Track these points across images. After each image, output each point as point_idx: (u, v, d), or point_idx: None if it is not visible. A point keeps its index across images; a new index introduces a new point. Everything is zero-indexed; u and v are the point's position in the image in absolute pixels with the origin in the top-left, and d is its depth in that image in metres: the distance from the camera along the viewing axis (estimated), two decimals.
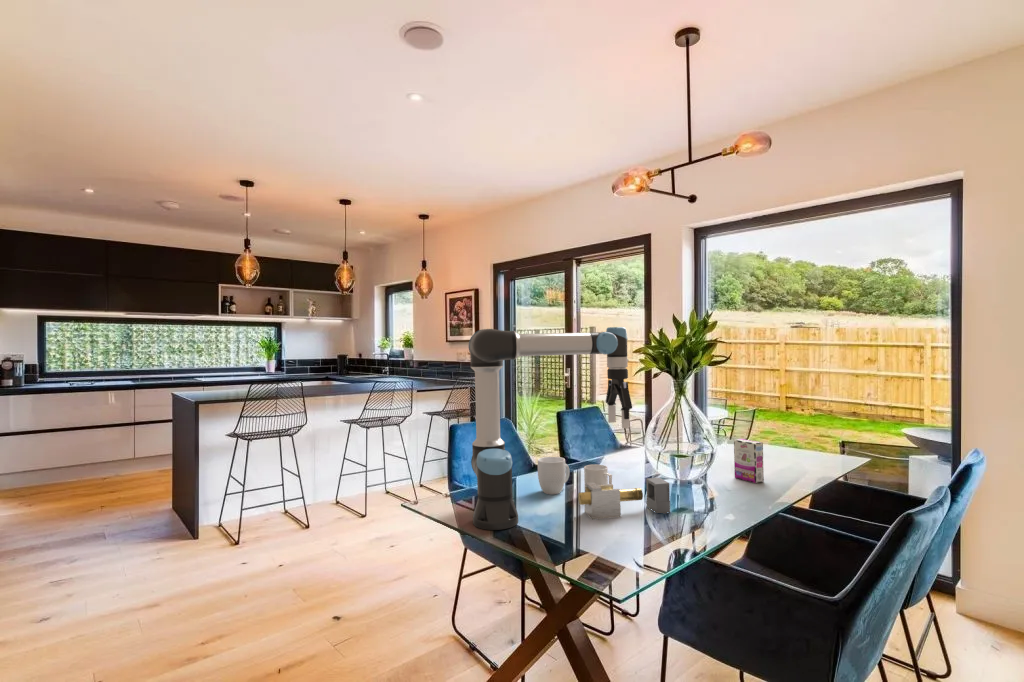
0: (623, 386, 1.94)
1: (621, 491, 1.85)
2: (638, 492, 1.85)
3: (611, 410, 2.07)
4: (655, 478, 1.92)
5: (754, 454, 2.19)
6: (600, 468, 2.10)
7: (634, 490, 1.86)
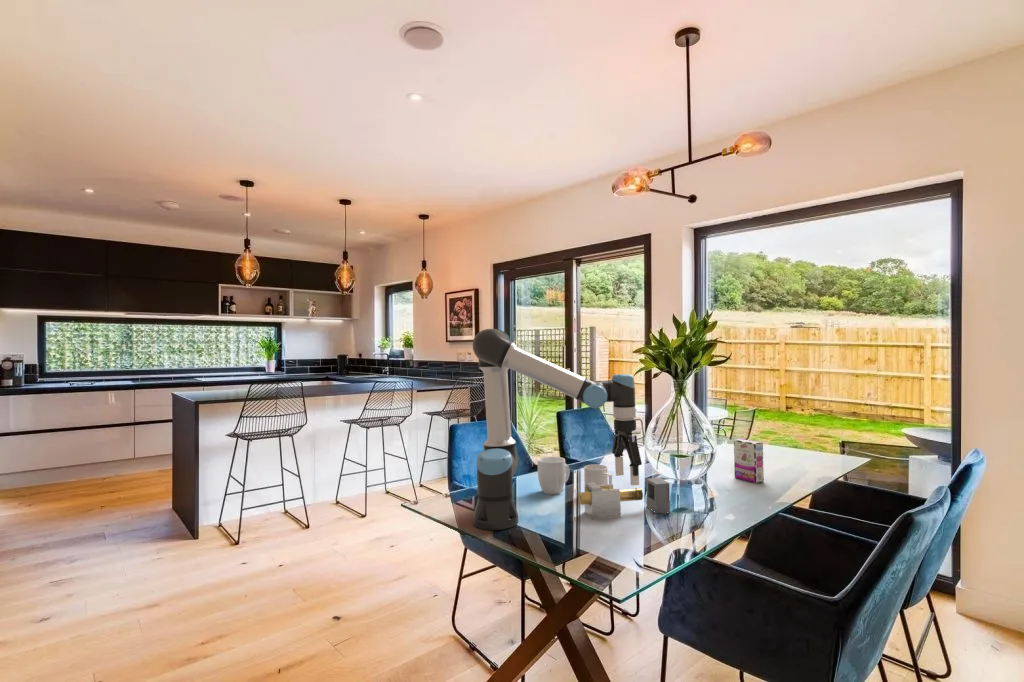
0: (631, 440, 1.79)
1: (621, 491, 1.85)
2: (638, 492, 1.85)
3: (618, 462, 1.92)
4: (655, 478, 1.92)
5: (754, 454, 2.19)
6: (600, 468, 2.10)
7: (634, 490, 1.86)
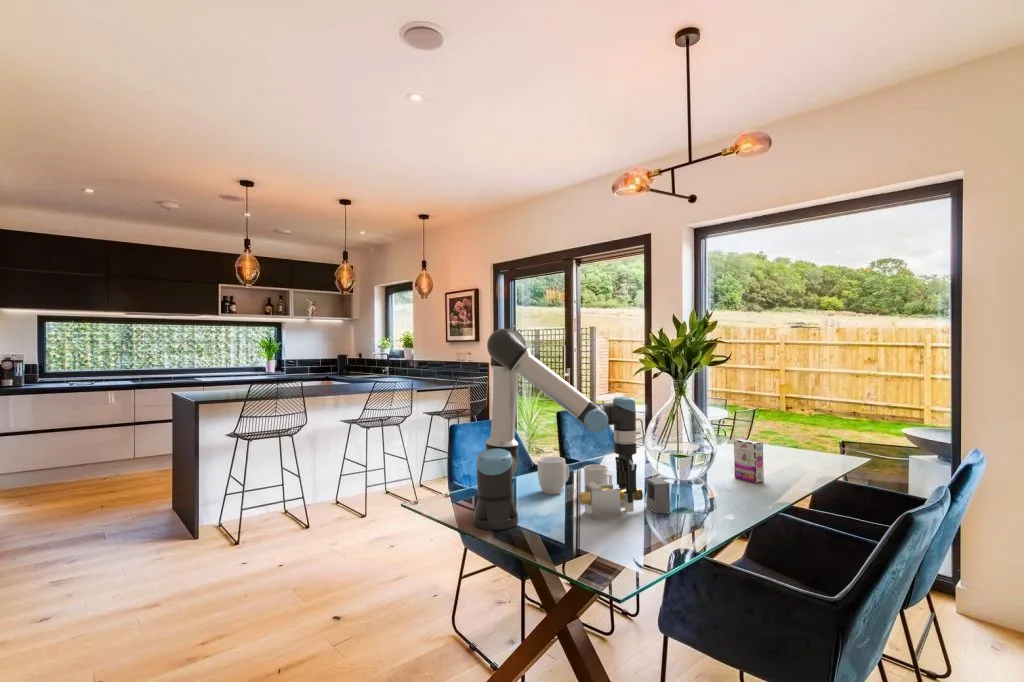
0: (631, 469, 1.80)
1: (621, 491, 1.85)
2: (638, 492, 1.85)
3: None
4: (655, 478, 1.92)
5: (754, 454, 2.19)
6: (600, 468, 2.10)
7: None
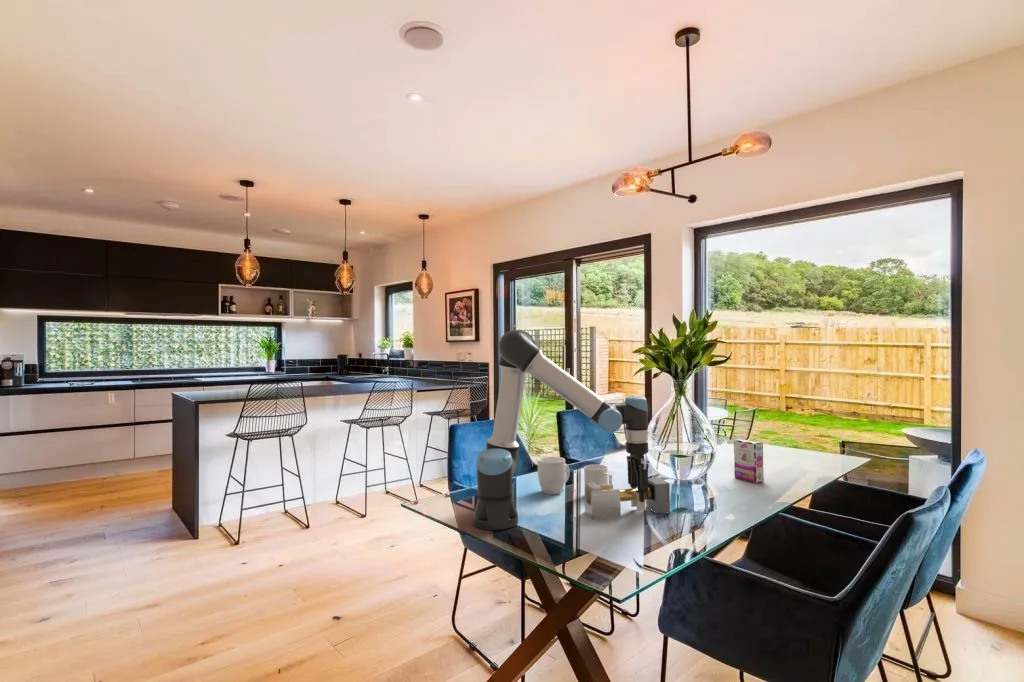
0: (643, 468, 1.81)
1: (633, 490, 1.86)
2: (650, 492, 1.86)
3: None
4: (655, 478, 1.92)
5: (754, 454, 2.19)
6: (600, 468, 2.10)
7: None
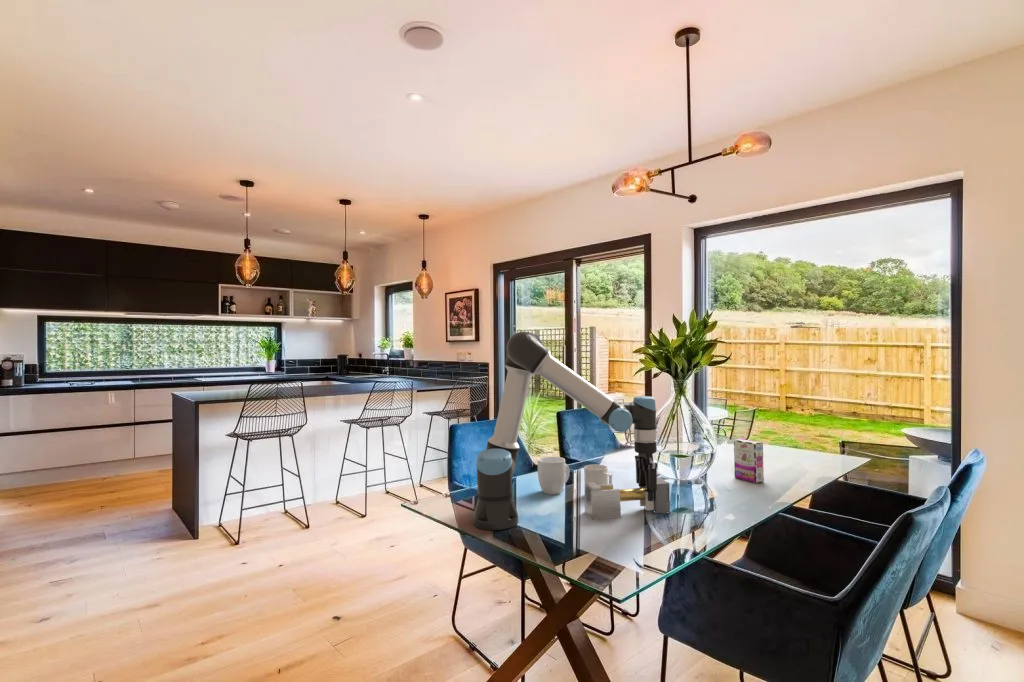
0: (652, 467, 1.81)
1: (641, 489, 1.86)
2: None
3: None
4: None
5: (754, 454, 2.19)
6: (600, 468, 2.10)
7: None
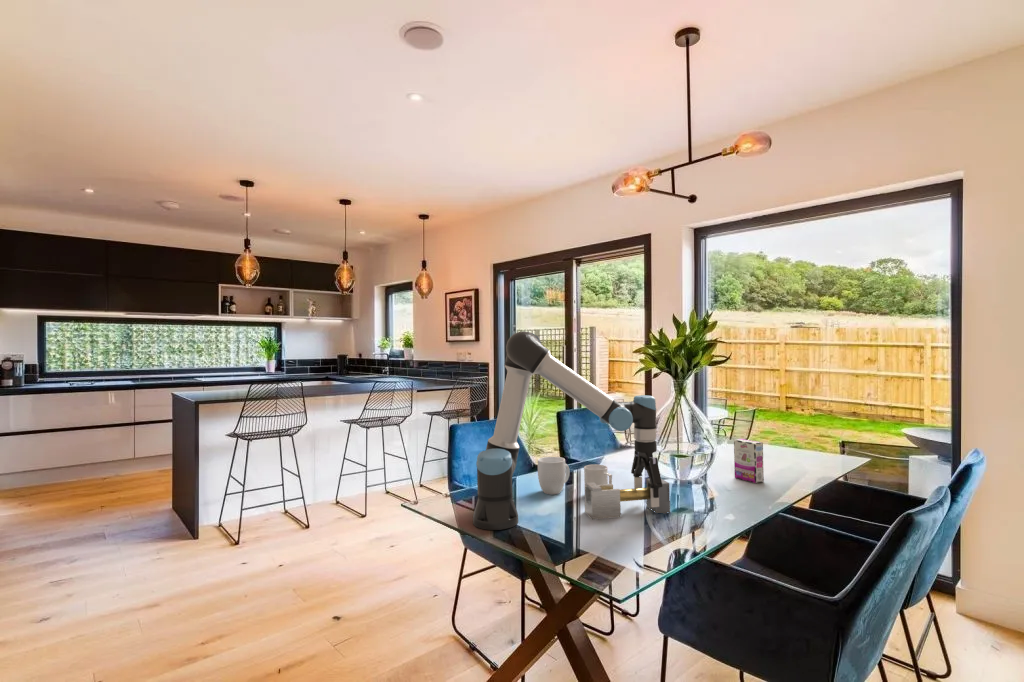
0: (652, 462, 1.81)
1: (641, 489, 1.86)
2: None
3: (637, 482, 1.94)
4: None
5: (754, 454, 2.19)
6: (600, 468, 2.10)
7: None
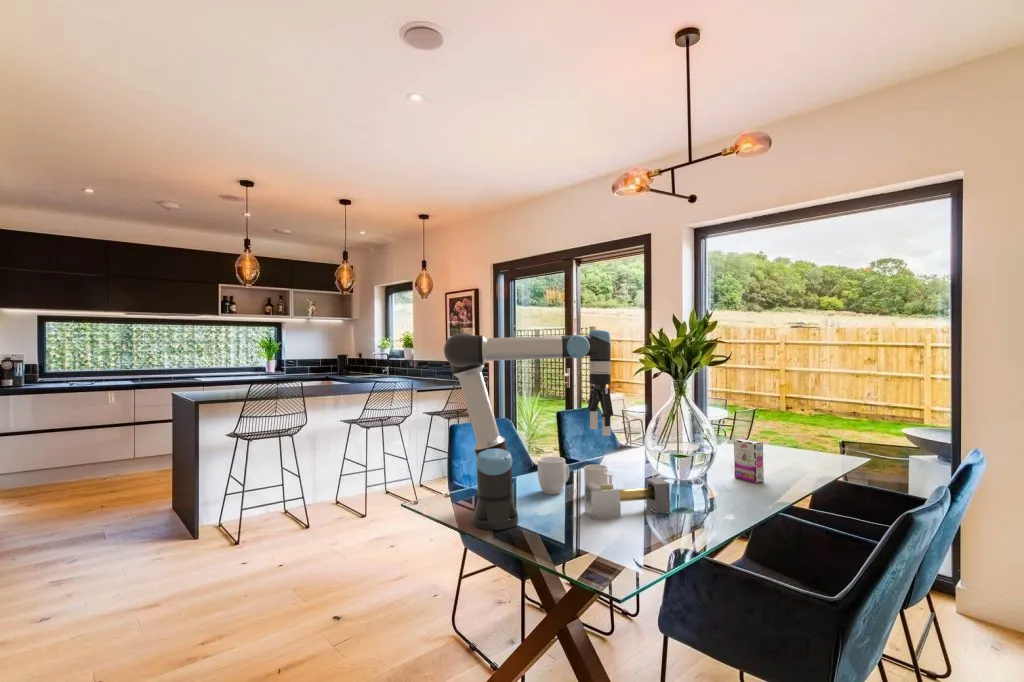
0: (604, 392, 1.86)
1: (641, 489, 1.86)
2: None
3: (593, 416, 1.99)
4: (655, 478, 1.92)
5: (754, 454, 2.19)
6: (600, 468, 2.10)
7: None
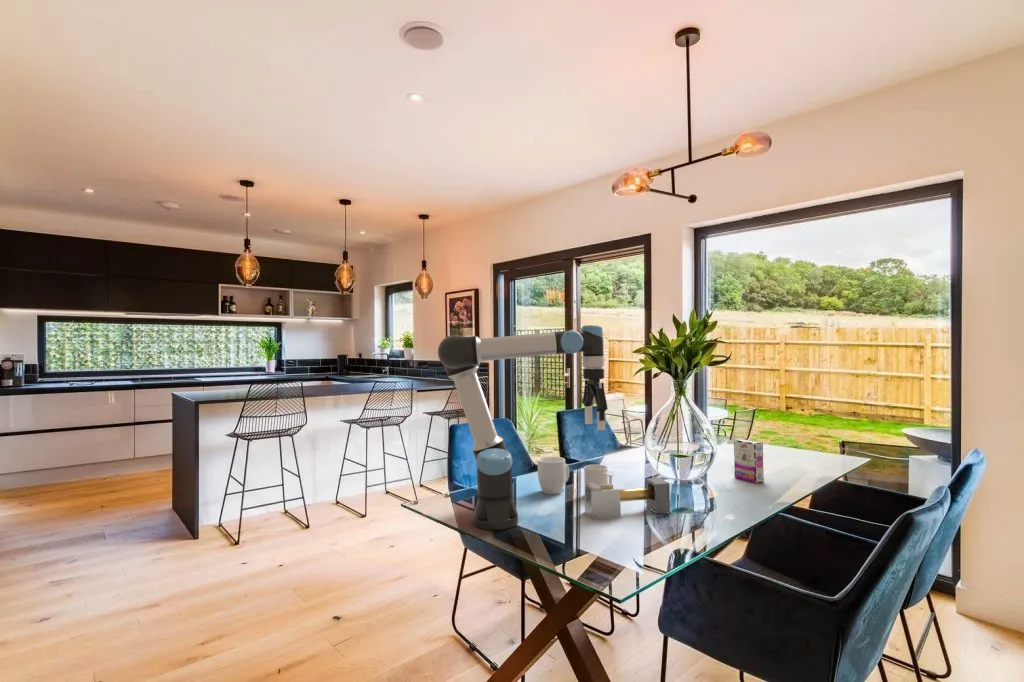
0: (598, 386, 1.87)
1: (641, 489, 1.86)
2: None
3: (588, 411, 2.00)
4: (655, 478, 1.92)
5: (754, 454, 2.19)
6: (600, 468, 2.10)
7: None
